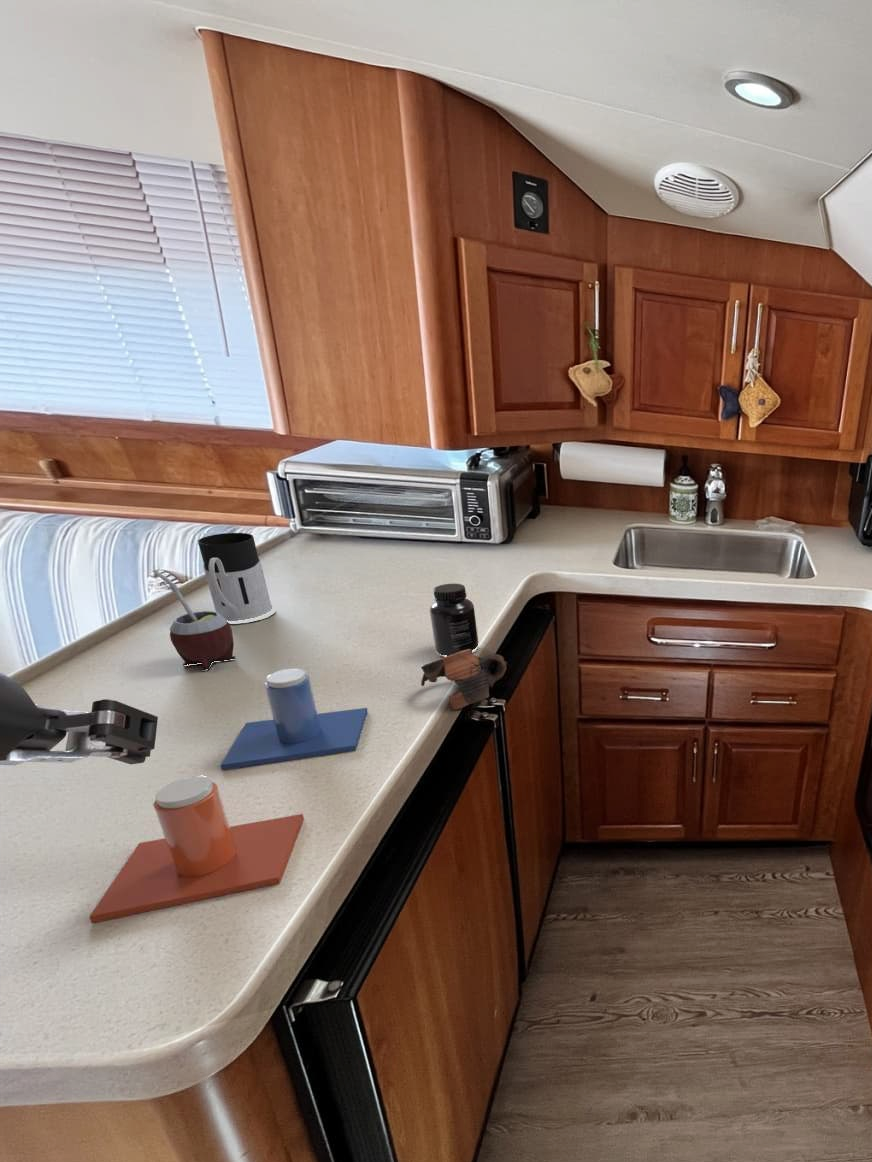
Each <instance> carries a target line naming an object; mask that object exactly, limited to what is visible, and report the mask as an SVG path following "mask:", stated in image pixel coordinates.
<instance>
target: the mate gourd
mask: <svg viewBox="0 0 872 1162" xmlns="http://www.w3.org/2000/svg"><path fill="white" fill-rule="evenodd" d="M152 573H153V574H154V575H156V576H157V577H159V578H160V579H161V580H163V582H165V583H166V584H168V586H169V589H170V590H171V591H172V593H174V594H175V596H176V597H177V599H178V600H179V602H180V604H181V605H182V607H183V608H184V610H185V611H186V614H183V615H180V616H178V617H176V618H175V619H174V621H173V622H172V624H171V625H170V627H169V637H170V642H171V643H172V645H173V647H174V648H175V651H176V653H177V654H178V656H180V657H181V659H182V660H183V663H182V666H183V665H187V664H188V665H189V664H197V663H202V664H203V665H202V668H201V670H206V669H209V667H210V665H211V663H212V662H214V661H224V660H230V659H235V660H236V656H235V655H234V656H233V654H234V653H233V652H234V646H235V643H234V636H233V630H232V627H231V625H229V623H228V622H227V620H226V619H225V618H224V617H223V616H222V615H220V614H219V613H217V612H216V611H211V610H208V611H207V610H203V611H194V612H193V611H192V609H191V607H190V606H189V605H188V603H187V601H186V599H185V598H184V597H183V595H182V593H181V592H180V588H179V587H178V586H177V584H176V583H174V582H173V581H172V580H170V579H169V578H168V577H166V576H165V575H164V574H162V573H161V572H159V571H158V570H157V569H154V570H152Z"/></svg>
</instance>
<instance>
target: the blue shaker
mask: <svg viewBox="0 0 872 1162" xmlns="http://www.w3.org/2000/svg"><path fill="white" fill-rule="evenodd" d="M265 680H266V682H265V683H264V688H265V689H264V690H265V693H266V697H267V700H268V704H269V709H270V712H271V716H272V720H274V724H275V728H276V732H277V736H278V739H279V741H280V742H282V743H285V744H295V743H300V742H304V741H307V740H310V739H312V738H314V737H315V736H317V735H318V734H319V733H320V732H321V726H320V722H319V717H318V714H319V713H318V709H317V705H316V701H315V696H314V692H313V691H314V690H313V688H312V682H311V679H310V675H308V674H307V673H306V671H305V670H304V669H302V668H294V667H293V668H285V669H281V670H278V671H274V672H272V673H271V674H269V675H268V676H267V677H266V679H265Z"/></svg>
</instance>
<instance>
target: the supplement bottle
mask: <svg viewBox="0 0 872 1162" xmlns="http://www.w3.org/2000/svg"><path fill="white" fill-rule="evenodd" d="M433 600H434V601H435V602H433V603H431V605H430V607H429V616H430V622H431V629H432V635H433V642H434V648H435V652H436V651H437V652H438V653H439V654H441V655H447V656H450V655H452V654H455V653H458V652H461V651H463V650H467V649H471V650H473V649H475V648H476V647H477V646H478V643H479V636H478V627H477V619H476V618H477V617H476V612H475V610H476V609H475V604H474V603H473V602H472V601H471V600H470V599H468V598H467V592H466V587H465V585H464V584H461V583H444V584H440V585H438V586H437V585H436V586H435V587H434V588H433ZM437 652H436V653H437Z"/></svg>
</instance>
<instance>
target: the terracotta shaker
mask: <svg viewBox="0 0 872 1162" xmlns="http://www.w3.org/2000/svg"><path fill="white" fill-rule="evenodd" d="M218 787H219V786H218V785H217V783H215V782H213V781H212V779H211V778H210V777H208V776H204V775H194V776H188V777H183V778H181V779H177V780H175V781H172V782H170V783H168V784H166V785H164V786H162V788H160V789H159V790H158V791H157V793H156V794H155V797H154V798H155V800H154V802H153V809H154V812H155V815H156V817H157V819H158V823H159V826H160V829H161V831H162V834H163V837H164V838H165V840H166V842H167V845H168V848H169V851H170V853H171V856H172V859H173V862H174V865H175V867H176V870H177V873H178V874H179V875H181V876H184V877H196V876H201V875H205V874H208V873H211V872H213V871H216V870H218V869H220V868H221V867H223V866H225V865H226V864H228V863H229V862H230V861H231V860H232V859H233V858H234V857H235V855H236V852H237V848H236V845H235V842H234V838H233V835H232V832H231V829H230V827H231V826H230V822H229V820H228V816H227V813H226V810H225V806H224V803H223V800H222V797H221V794H220V789H219V788H218Z"/></svg>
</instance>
